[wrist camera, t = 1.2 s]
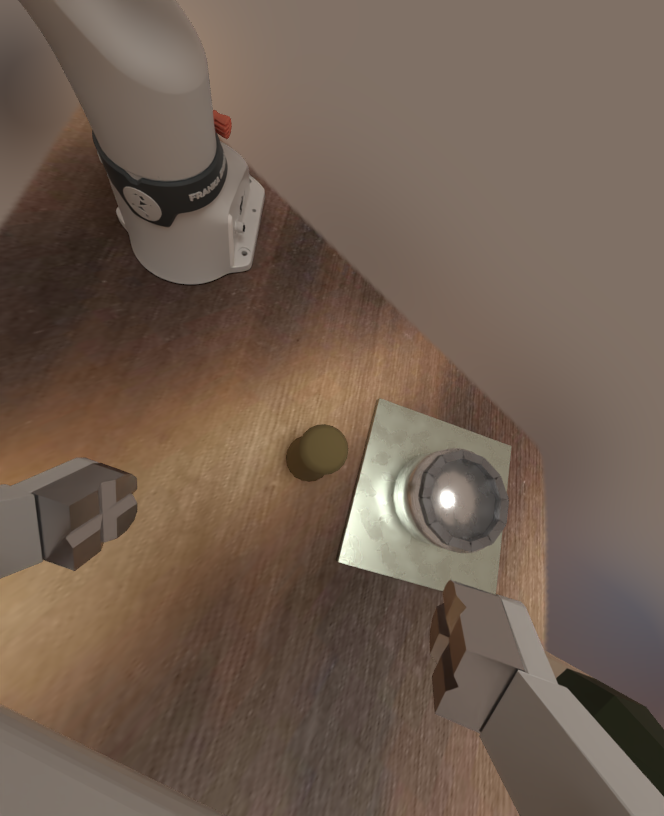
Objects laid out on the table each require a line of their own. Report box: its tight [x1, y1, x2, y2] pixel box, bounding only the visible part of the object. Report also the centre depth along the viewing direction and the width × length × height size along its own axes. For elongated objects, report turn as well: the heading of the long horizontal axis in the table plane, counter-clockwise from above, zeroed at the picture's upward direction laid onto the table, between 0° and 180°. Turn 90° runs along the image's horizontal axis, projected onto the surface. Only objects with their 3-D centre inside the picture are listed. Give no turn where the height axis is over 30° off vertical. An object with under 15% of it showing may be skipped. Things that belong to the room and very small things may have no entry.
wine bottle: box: [544, 650, 664, 796], centre depth 26 cm, size 8×8×30 cm
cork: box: [286, 424, 348, 482], centre depth 36 cm, size 6×6×11 cm
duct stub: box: [336, 398, 511, 595], centre depth 40 cm, size 22×22×8 cm
